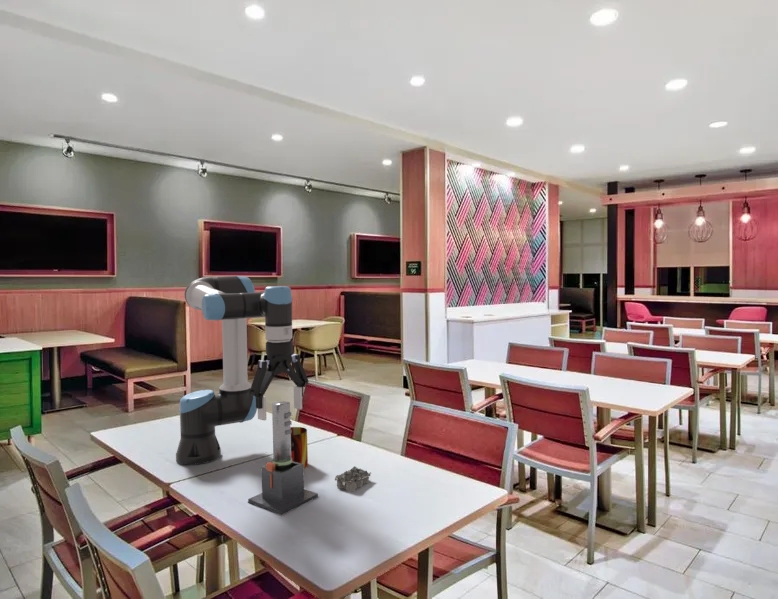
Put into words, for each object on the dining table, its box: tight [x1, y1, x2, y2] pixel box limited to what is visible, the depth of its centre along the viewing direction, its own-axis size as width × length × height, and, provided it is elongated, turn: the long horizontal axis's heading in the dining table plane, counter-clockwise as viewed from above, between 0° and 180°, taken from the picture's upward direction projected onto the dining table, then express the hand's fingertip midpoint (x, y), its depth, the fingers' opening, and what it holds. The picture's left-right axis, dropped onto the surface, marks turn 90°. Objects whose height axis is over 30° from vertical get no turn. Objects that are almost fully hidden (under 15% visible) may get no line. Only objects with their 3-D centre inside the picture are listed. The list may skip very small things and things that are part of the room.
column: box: [271, 400, 292, 471], centre depth 150 cm, size 6×6×20 cm
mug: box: [290, 426, 309, 469], centre depth 176 cm, size 10×14×12 cm
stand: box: [247, 461, 319, 516], centre depth 151 cm, size 14×14×12 cm
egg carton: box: [334, 466, 372, 492], centre depth 162 cm, size 11×8×4 cm
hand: (280, 413), depth 151 cm, fingers open, 13 cm apart
